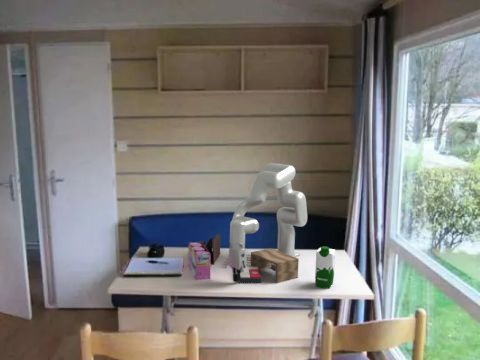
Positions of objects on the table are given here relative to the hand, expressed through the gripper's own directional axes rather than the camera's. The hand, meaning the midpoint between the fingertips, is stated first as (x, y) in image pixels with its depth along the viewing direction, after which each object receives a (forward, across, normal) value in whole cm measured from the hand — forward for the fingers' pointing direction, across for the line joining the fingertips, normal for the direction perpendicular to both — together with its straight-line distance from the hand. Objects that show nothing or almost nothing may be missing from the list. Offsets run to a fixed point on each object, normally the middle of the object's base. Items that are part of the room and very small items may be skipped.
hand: (236, 280), depth 231 cm
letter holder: (+2, +40, -9) cm, 41 cm away
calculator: (+2, +3, -10) cm, 11 cm away
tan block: (+1, 0, -24) cm, 24 cm away
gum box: (+2, +24, +7) cm, 25 cm away
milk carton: (+1, -26, -35) cm, 44 cm away
